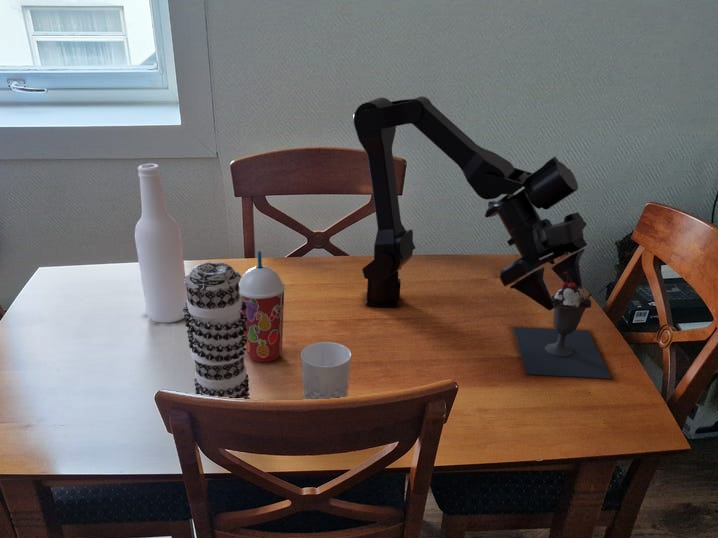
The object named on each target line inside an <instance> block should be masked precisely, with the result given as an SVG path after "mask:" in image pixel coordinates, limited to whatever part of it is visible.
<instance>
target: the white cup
mask: <svg viewBox="0 0 718 538" xmlns="http://www.w3.org/2000/svg"><path fill="white" fill-rule="evenodd" d="M351 364H352V351H351V350H350V348H348V347H347V346H346V345H343V344H341V343H338V342H333V341H332V342H331V341H319V342H314V343H310V344H309V345H306V346H305V347H304V348H303V349H302V350H301V351H300V365H301V382H302V391H303V400H304V399H330V398H340V397H347V398H348V395H349V388H350V387H349V386H350V379H351V378H350V376H351V368H352V367H351Z"/></svg>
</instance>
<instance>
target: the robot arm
mask: <svg viewBox="0 0 718 538" xmlns="http://www.w3.org/2000/svg"><path fill="white" fill-rule="evenodd" d="M352 118H353V119H352V121H353V126H354V130H355V133H356V136H357V139H358V142H359V143H360V145H361V146H362V148H363V150H364V152H365V153H366V156H367V162H368V170H369V175H370V182H371V191H372V197H373V198H372V199H373V203H374V204H373V205H374V210H375V217H376V218H375V219H376V226H377V231H376V235H375V240H374V244H373V260H371V261H370V262H369V263H367V265H364V267H363V268H362V269H361V270H362V274H363V277H364V279H366V280H367V286H366V287H367V289H366V297H365V306H366V307H377V308H379V307H380V308H397V306H398V302H400V297H401V295H400V294H401V284H402V283H401V278H400V277H399V271H400V270H401V269H402V268H403V266H405V265H406V264H407V263H408V262H409V261H410V260H411V259H412V257H413V252H414V250H415V249H416V245H415V244H414V231H413V229H407V230H406V227H404V225H403V223H402V221H401V220H402V219H401V218H402V217H401V212H400V204H399V203H400V202H399V195H398V194H399V193H398V188H397V187H398V186H397V179H396V172H395V171H396V170H395V163H394V156H393V155H394V154H393V145H394V140H395V136H396V131H397V127H399V126H404V125H410V124H411V125H413V126H414V127H415V128H416V129H417V130H419V132H420V133H422V134H423V135H424V136H425V137H426V138H427V140H429V141H431V142H432V143H433V144H434V145H435V146H436V147H437V148H438V149H439V150H440V151H442V153H444V155H446V156H447V157H448V158H449V159H451V160H452V161H453V163H455V164H456V165H457V166H458V167H459V168H460V170H461V171H462V173H463V176H464V177H465V179H466V182H467V183H468V184H469V186H470V187H471V188H472V190H473V191H474V192H475V193H476V195H477V196H478V197H480V198H481V199H483V200H485V201H486V200H490V201H488V202H487V208H486V211H485V214H484V217H485V218H491V217H495V216H498V217H499V218H500V221H501V222H502V224H503V226H504V228H505V230H506V232H507V234H508V235H509V237H510V238H509V239H508V240H506V242H507V244H508V245H509V247H511V246H513V245H515V248H516V249H517V251H518V253H519V255H520V258H519V257H518V259H516V260H515V261H513V262H511V263H510V264H509V265H507V266H506V267H504V268H502V269H501V270H500V273H499V280H500V281H501V284H502V286H503V287H505V288H506V287H507V286H509V285H510V286H509V288H510V289H511V290H512V289H514V290H516V291H518V292H519V293H521V294H523V295H525V296H526V297H528V298H529V299H531V300H533V301H534V302H535V303H537V304H539V305H540V306H541V307H542V308H545V310H547V311H552V310H554V308H555V306H554V303H553V300H552V298H551V297H552V296H551V294H550V292H549V289H548V287H547V286H546V283H545V280H544V273H545V267H544V266H543V265H545V264H551V265H553V266H551V267H550V269H551V270H552V271H553V272H554V274H556V275H557V277H558V278H560V280H561V281H562V282H563V283H566V281H567V276H568V275H569V276H570V278H571V281H572V283H575V285H577V286H579V287H581V288H582V290H584V288H583V283H582V276H581V271H580V270H581V269H580V261H581V257H582V255H583V253H585V247H586V246H588V244H587V242H586V239H585V238H584V236H585V235H584V231H583V230H584V229H585V228H586V227H587V222H586V221H585V220H584V217H582V216H581V214H580V212H578V211H577V212H573V213H570V214H567V215H565V216H564V219H563V221H561V222H557V223H555V224H552V222H551V220H550V219H548V218H544V219H542V218H541V216H540V215H539V213H538V211H537V210H536V209H538V210H540V209H543V210H546V211H547V210H549V209H551V208H552V207H554V206H555V205H557V204H559V203H560V202H561V201H563V200H565V199H566V198H568V197H569V196H571V195H572V194H573V193H575V192H577V191H578V189H579V186H578V185H579V184H578V181H577V178H576V176H575V175H574V173H573V172H572V170H571V169H570V168H568V167H567V166H566V165H565V164H564V163H563V162H561V161H559V159H558V158H557V156H552V157H551V158H550V159H549V160H547V161H546V163H545V164H544V165H542V166H541V167H539V168H538V169H537V170H536V171H533V172H530V171H527V170H524V169H520V168H518V167H515V166H514V165H513V164H512V163H511V162H510V161H509V160H508V159H506V158H504V157H502V155H501V156H500V155H499V154H498V153H496V152H493V151H491V150H489V149H486V148H484V147H481V146H480V145H478V144H477V143H476V142H475V141H474V140H473V139H472V138H470V137H469V136H468V135H467V134H466V133H465V132H464V131H463V130H461V129H460V128H459V127H458V126H457V125H456V124H455V123H453V121H452V120H451V119H449V118H448V117H447V116H446V115H445V114H444V113H442V112H441V111H440V110H439V109H438V108H437V107H436V106H435V105H434V104H433V103H432V102H431V100H430V99H429V98H428V97H426V96H418V97H415V98H407V99H406V98H405V99H399V100H392V101H391V100H390V99H389V98H386V97H377V98H374V99H372V100H369V101H366V102H364V103H362V104H360V105H359V106H357V108H356V110H355V111H354V113H353V117H352ZM522 188H523V189H522ZM519 190H520V191H519ZM502 195H504V196H503V197H501V196H502ZM499 197H501V198H500V199H499V200H497V201H495V199H497V198H499ZM541 266H543V267H541ZM540 267H541V268H540ZM538 268H539V269H538ZM563 272H568V273H567V274H568V275H567V274H566V275H567V276H566V275H565V274H564V273H563ZM569 276H568V282H567V283H571V281H570V278H569ZM511 284H512V285H511Z"/></svg>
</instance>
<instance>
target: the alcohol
mask: <svg viewBox="0 0 718 538" xmlns="http://www.w3.org/2000/svg"><path fill="white" fill-rule="evenodd" d="M160 167H161V166H159V165H158V164H156V163H144V164H140V165H138V167H137V171H138V175H137V176H138V177H139V187H140V189H139V190H140V201H141V204H140V205H141V214H140V218H139V220H138V221H137V223H136V225H135V228H134V241H135V246H136V253H137V254H136V255H137V260H138V266H139V272H140V278H141V286H142V291H143V299H144V303H145V310H146V315H147V316H148V317H149V319H151V320H152V321H153V322H157V323H160V324H161V323H162V324H168V323H176V322H178V321H181V320H183V319H185V317H184V314H185V313H184V312H183V308H184V307H186V302H187V298H188V296H187V287H186V285H185V282H184V279H185V277H186V270H185V269H186V267H185V261H184V254H183V253H184V251H183V244H182V234H181V229H180V227H179V224H178V223H177V221H176V219H174V218H173V217H172V216H171V215H170V214H169V211H168V209H167V205H166V204H167V203H166V199H165V194H164V189H163V183H162V180H161V172H160Z"/></svg>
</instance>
